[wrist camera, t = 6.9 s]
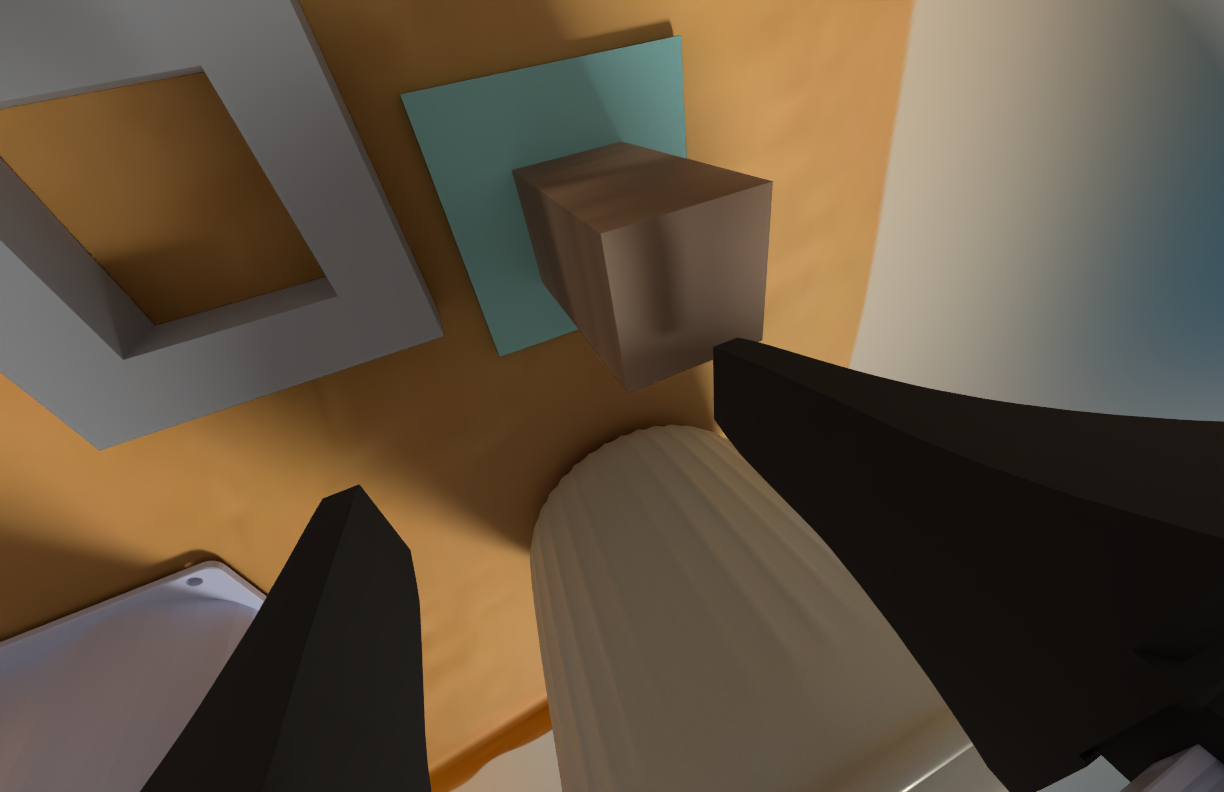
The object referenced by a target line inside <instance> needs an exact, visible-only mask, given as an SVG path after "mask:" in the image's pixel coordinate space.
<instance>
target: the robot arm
mask: <svg viewBox="0 0 1224 792" xmlns="http://www.w3.org/2000/svg"><path fill="white" fill-rule="evenodd" d="M713 374H714V420H715V421H716V422H717V424H718V425H719V427H720V428H721V429H722V431H723V432H724V434H725V435H726V436H727V438H728V439H729V440H730V442H731V443H732V444H733V446H734V447H735V448H736V450H737V451H738V452H739V453H740V455H741V456H742V457H743V458H744V459H745V460H746V461H747V462H748V463H749V464H750V465H751V466H752V467H753V468H754V469H755V470H756V472H757V473H758V474H759V475H760V476H761V477H762V478H763V479H764V480H765V481H766V482H767V483H768V484H769V485H770V486H771V487H772V488H773V489H774V490H775V491H776V492H777V493H778V494H779V495H780V496H781V497H782V498H783V499H784V500H785V501H786V502H787V503H788V504H789V505H790V506H791V507H792V508H793V509H794V510H795V511H796V512H797V513H798V514H799V515H800V516H801V517H802V518H803V520H804V521H805V522H806V523H807V524H808V525H809V526H810V527H811V528H812V529H813V530H814V531H815V532H816V533H817V534H818V535H819V536H820V537H821V539H822V540H823V541H824V542H825V543H826V544H827V545H828V546H829V548H830V549H831V550H832V551H833V552H834V554H835V555H836V556H837V557H838V559H839V560H840V561H841V562H842V564H843V565H844V566H845V567H846V569H847V570H848V571H849V572H850V574H851V575H852V576H853V577H854V579H855V580H856V581H857V582H858V583H859V585H860V586H861V587H862V589H863V590H864V591H865V592H866V594H867V595H868V596H869V598H870V599H871V600H872V602H873V603H874V604H875V606H876V607H877V608H878V610H879V611H880V612H881V613H882V615H883V616H884V617H885V619H886V620H887V621H888V623H889V624H890V625H891V627H892V628H893V629H894V631H895V632H896V633H897V635H898V636H899V637H900V639H901V640H902V642H903V643H904V644H905V646H906V647H907V649H908V650H909V651H910V653H911V654H912V656H913V657H914V658H915V660H916V661H917V663H918V664H919V665H920V667H921V668H922V670H923V671H924V672H925V674H926V675H927V676H928V678H929V679H930V681H931V682H932V684H933V685H934V687H935V688H936V690H937V691H938V692H939V694H940V695H941V697H942V698H943V700H944V701H945V703H946V704H947V706H948V707H949V709H950V710H951V712H952V713H953V715H954V716H955V718H956V719H957V721H958V722H959V724H960V725H961V727H962V728H963V730H964V731H965V733H966V734H967V736H968V737H969V739H970V740H971V742H972V743H973V745H974V747H975V748H976V750H977V751H978V753H979V754H980V756H981V758H982V759H983V761H984V762H985V764H986V765H987V767H988V768H989V770H990V771H991V772H992V773H993V774H994V775H995V776H996V777H997V779H998V780H999V781H1000V782H1001V783H1002V784H1003V785H1004V786H1005V788H1006V789H1007V790H1008V791H1009V792H1037V791H1039V790H1041V789H1043V788H1045V787H1047V786H1049V785H1051V784H1053V783H1055V782H1057V781H1059V780H1061V779H1063V778H1065V777H1067V776H1069V775H1071V774H1073V773H1075V772H1077V771H1079V770H1081V769H1083V768H1085V767H1087V766H1088V765H1089V764H1091V763H1092V762H1093V761H1094V760H1095V759H1097V758H1098V757H1099V756H1100V755H1102V756H1103V757H1104V758H1105V759H1106V760H1107V761H1108V762H1109V763H1111V764H1112V765H1113V766H1114V767H1115V768H1116V769H1117V770H1118V771H1119V772H1120V773H1121V774H1123V776H1124V777H1126V778H1127V779H1128V780H1129V781H1130V782H1131V783H1130V784H1128V785H1127V786H1126V787H1125V788H1124V789H1122V790H1121V791H1120V792H1224V422H1219V421H1217V422H1216V421H1194V420H1193V421H1192V420H1177V419H1163V418H1150V417H1137V416H1123V415H1111V414H1101V413H1091V412H1080V411H1071V410H1062V409H1055V408H1047V407H1039V406H1031V405H1023V404H1015V403H1009V402H1002V401H995V400H989V399H983V398H977V397H972V396H966V395H961V394H956V393H950V392H945V391H939V390H934V389H930V388H925V387H920V386H915V385H911V384H907V383H903V382H899V381H895V380H890V379H886V378H882V377H878V376H874V375H870V374H867V373H863V372H859V371H855V370H852V369H848V368H844V367H841V366H837V365H834V364H830V363H827V362H824V361H820V360H817V359H813V358H810V357H807V356H803V355H800V354H797V353H793V352H790V351H787V350H783V349H780V348H777V347H773V346H770V345H766V344H763V343H759V342H755V341H751V340H747V339H743V338H738V337H737V338H735V339H732V340H730V341H727V342H725V343H722V344H719V345H717V346H714V347H713ZM193 577H198V578H193ZM0 792H431V785H430V778H429V771H428V763H427V751H426V738H425V719H424V693H423V667H422V642H421V620H420V601H419V595H418V589H417V583H416V577H415V572H414V567H413V561H412V556H411V551H410V549H409V548H408V546H407V545H406V544H405V543H404V541H403V540H402V539H401V537H400V536H399V535H398V534H397V532H396V531H395V530H394V528H393V527H392V526H391V524H390V523H389V522H388V521H387V519H386V518H385V517H384V515H383V514H382V513H381V512H380V510H379V509H378V508H377V506H376V505H375V504H374V503H373V501H372V500H371V499H370V497H369V496H368V495H367V494H366V492H365V491H364V490H363V488H362V487H361V486H360V485H357V486H354V487H351V488H349V489H346V490H344V491H341V492H339V493H336V494H333V495H331V496H328V497H326V498H323V499H322V501H321V503H320V504H319V506H318V507H317V509H316V511H315V513H314V514H313V516H312V518H311V519H310V521H309V523H308V525H307V527H306V528H305V530H304V532H303V534H302V535H301V537H300V539H299V541H298V543H297V544H296V546H295V548H294V550H293V552H292V553H291V555H290V557H289V559H288V561H287V562H286V564H285V566H284V568H283V569H282V571H281V573H280V575H279V576H278V578H277V580H276V582H275V583H274V585H273V587H272V588H271V590H270V592H269V594H268V595H267V596H265V595H264V594H263V593H261V592H260V591H259V590H257V589H256V588H255V587H254V586H252V585H251V584H250V583H248V582H247V581H246V580H244V579H243V578H242V577H240V576H239V575H238V574H236V573H235V572H234V571H232V570H231V569H230V568H229V567H227V566H226V565H225V564H223V563H221V562H218V561H206V562H203V563H200V564H197V565H195V566H192V567H190V568H187V569H185V570H182V571H180V572H177V573H174V574H172V575H169V576H167V577H164V578H162V579H159V580H157V581H154V582H152V583H149V584H147V585H144V586H142V587H139V588H136V589H134V590H131V591H129V592H126V593H124V594H121V595H119V596H116V597H114V598H111V599H109V600H106V601H103V602H101V603H98V604H96V605H93V606H91V607H88V608H86V609H83V610H81V611H78V612H76V613H73V614H71V615H68V616H65V617H63V618H60V619H58V620H55V621H53V622H50V623H48V624H45V625H43V626H40V627H38V628H35V629H32V630H30V631H27V632H25V633H22V634H20V635H17V636H15V637H12V638H10V639H7V640H5V641H2V642H0Z"/></svg>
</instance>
